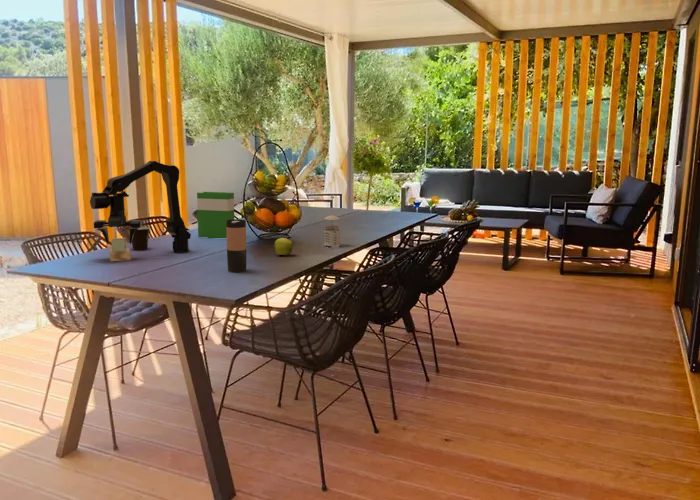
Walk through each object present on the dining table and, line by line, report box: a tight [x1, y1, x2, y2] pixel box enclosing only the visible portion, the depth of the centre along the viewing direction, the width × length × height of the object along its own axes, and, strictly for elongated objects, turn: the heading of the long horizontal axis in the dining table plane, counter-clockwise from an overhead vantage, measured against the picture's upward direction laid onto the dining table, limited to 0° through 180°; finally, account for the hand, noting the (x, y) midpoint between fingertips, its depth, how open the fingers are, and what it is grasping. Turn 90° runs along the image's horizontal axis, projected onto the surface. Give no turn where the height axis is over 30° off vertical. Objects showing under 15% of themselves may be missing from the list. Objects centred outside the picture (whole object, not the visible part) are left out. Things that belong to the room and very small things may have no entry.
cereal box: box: [196, 191, 235, 239], centre depth 317 cm, size 18×7×24 cm, turn 75°
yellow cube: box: [111, 237, 128, 252], centre depth 255 cm, size 5×5×5 cm
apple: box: [273, 237, 294, 256], centre depth 269 cm, size 8×9×8 cm
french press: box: [323, 195, 341, 246], centre depth 294 cm, size 10×12×25 cm
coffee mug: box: [131, 226, 150, 252], centre depth 281 cm, size 12×9×10 cm
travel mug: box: [226, 218, 248, 273], centre depth 234 cm, size 8×8×20 cm
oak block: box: [109, 248, 131, 262], centre depth 256 cm, size 8×8×4 cm
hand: (119, 244), depth 255 cm, fingers open, 9 cm apart
